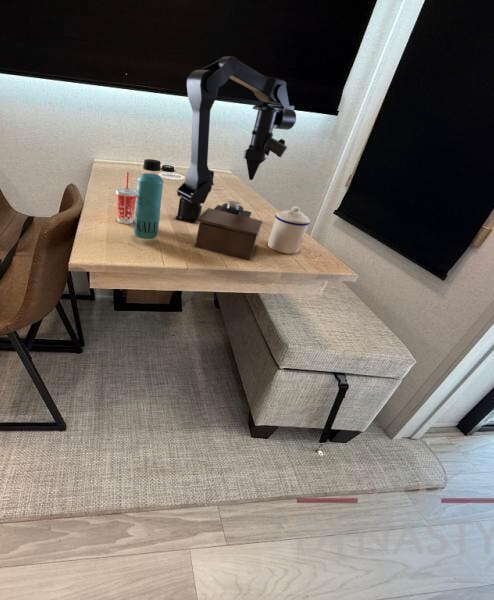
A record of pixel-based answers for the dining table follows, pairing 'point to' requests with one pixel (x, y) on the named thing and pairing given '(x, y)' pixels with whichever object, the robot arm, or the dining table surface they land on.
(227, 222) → the lid
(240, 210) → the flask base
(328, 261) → the dining table surface
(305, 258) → the dining table surface
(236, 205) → the push lid
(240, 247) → the box
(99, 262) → the dining table surface
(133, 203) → the beverage cup
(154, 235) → the beverage bottle
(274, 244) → the teacup with lid
